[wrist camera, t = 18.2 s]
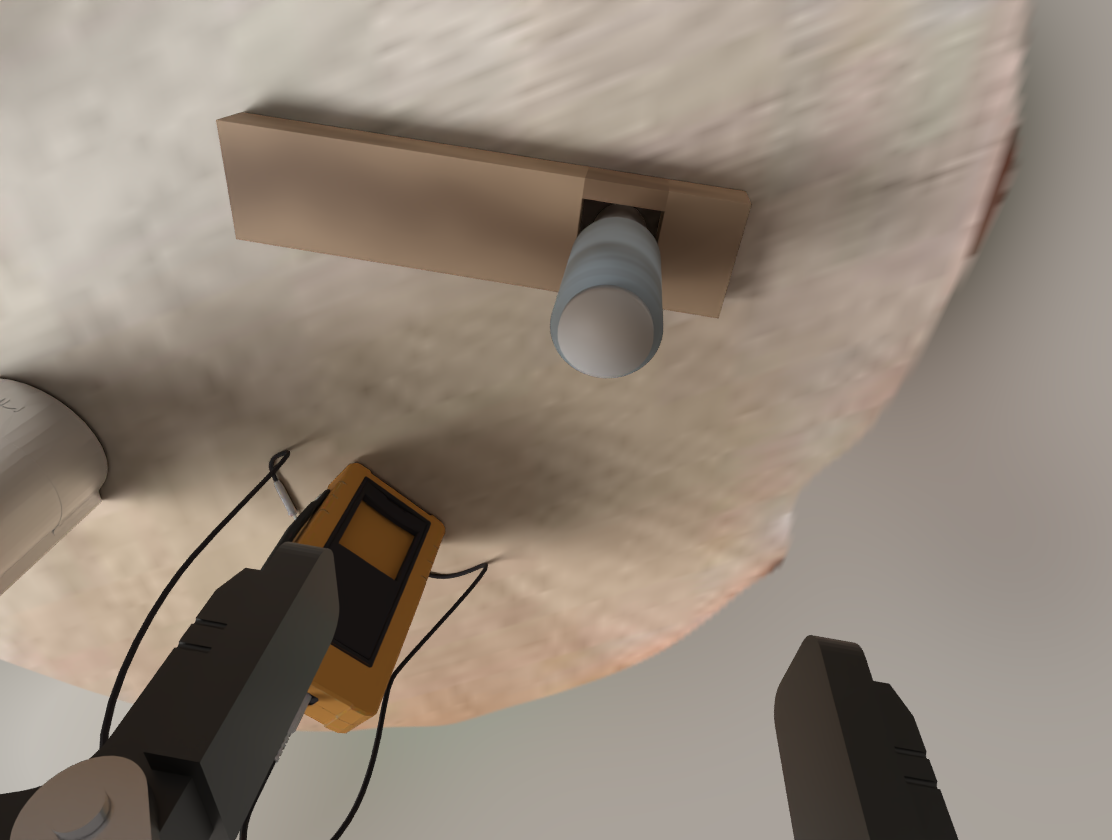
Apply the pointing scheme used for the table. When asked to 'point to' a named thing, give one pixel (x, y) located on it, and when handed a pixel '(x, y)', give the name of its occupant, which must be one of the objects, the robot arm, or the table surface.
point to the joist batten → (462, 207)
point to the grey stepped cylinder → (610, 297)
